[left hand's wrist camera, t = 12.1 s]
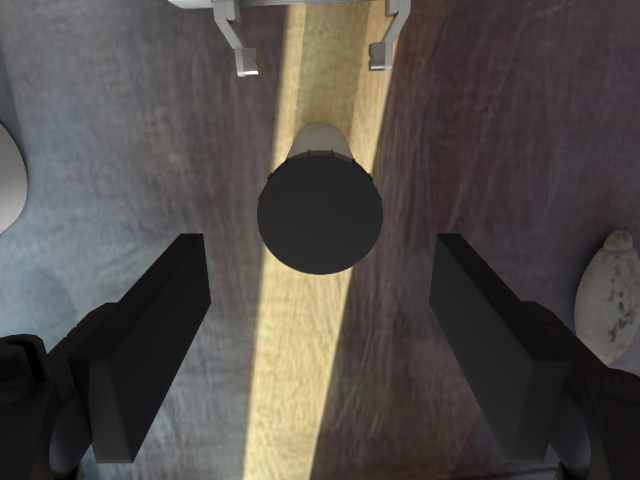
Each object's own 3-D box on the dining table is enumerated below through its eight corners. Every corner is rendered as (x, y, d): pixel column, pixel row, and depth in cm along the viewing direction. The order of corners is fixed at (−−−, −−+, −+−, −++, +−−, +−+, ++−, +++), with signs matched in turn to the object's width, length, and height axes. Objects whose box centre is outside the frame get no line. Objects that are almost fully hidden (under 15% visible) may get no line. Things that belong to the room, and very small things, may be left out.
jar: (358, 139, 37) (393, 193, 19) (331, 188, 38) (342, 279, 21) (307, 112, 36) (294, 142, 18) (282, 164, 37) (249, 237, 20)
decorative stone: (640, 221, 39) (668, 233, 36) (619, 349, 45) (642, 369, 42) (576, 229, 40) (599, 242, 37) (564, 355, 45) (582, 376, 42)
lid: (402, 183, 20) (409, 191, 19) (344, 280, 22) (346, 294, 21) (292, 126, 19) (289, 129, 17) (242, 233, 21) (236, 245, 20)
